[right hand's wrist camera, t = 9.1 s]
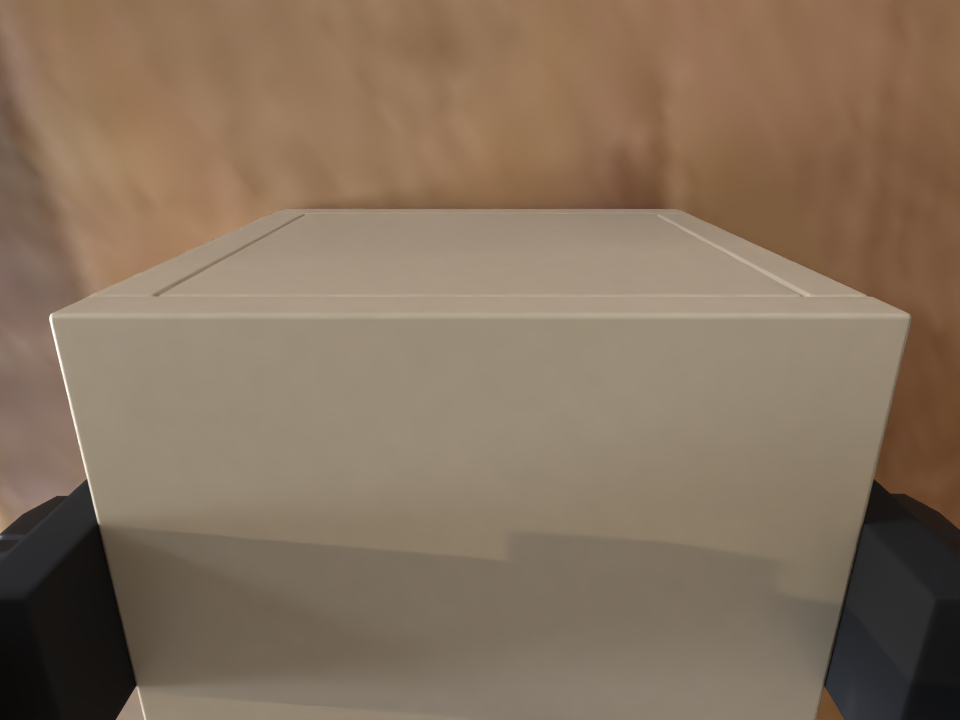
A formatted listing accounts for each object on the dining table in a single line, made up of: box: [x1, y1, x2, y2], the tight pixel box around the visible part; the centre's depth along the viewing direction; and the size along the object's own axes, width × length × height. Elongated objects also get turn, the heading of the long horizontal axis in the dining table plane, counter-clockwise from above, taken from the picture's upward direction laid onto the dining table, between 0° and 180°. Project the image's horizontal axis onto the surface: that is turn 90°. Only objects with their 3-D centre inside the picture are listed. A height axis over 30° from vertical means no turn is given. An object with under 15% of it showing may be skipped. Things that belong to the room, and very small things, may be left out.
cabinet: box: [49, 209, 912, 720], centre depth 15 cm, size 21×10×9 cm, turn 0°
